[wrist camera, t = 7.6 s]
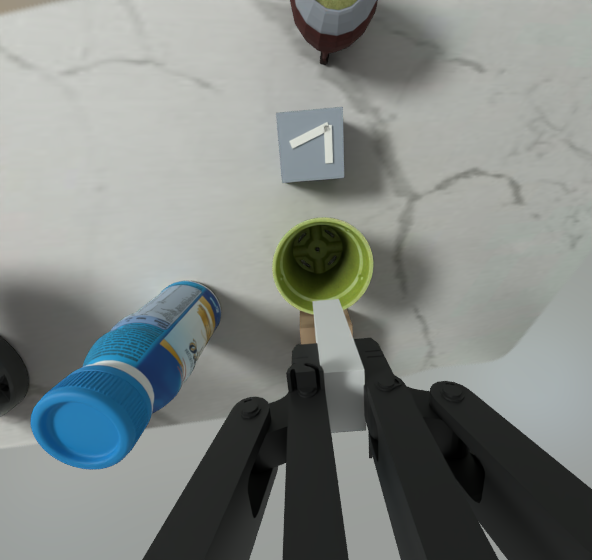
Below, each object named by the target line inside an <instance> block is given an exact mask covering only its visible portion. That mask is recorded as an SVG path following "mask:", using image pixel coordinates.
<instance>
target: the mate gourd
mask: <svg viewBox="0 0 592 560" xmlns="http://www.w3.org/2000/svg"><path fill="white" fill-rule="evenodd" d="M377 1H378V0H290V2H291V7H292V12H293V16H294V21H295V24H296V26H297V27H298V29H299V31H300V32H301V34H302V35H303V37H304V38H305V40H306V41H307V42H308V43H309V44H311V45H312V46H313V47H314V48H316V49H317V50H319V51H321V56H320V63H321V64H324V65H326V64H327V63H328V58H329V53H334V52H337V51H339V50H342V49H345V48H347V47H349V46H350V45H351V44H352V43H354V42H355V41H356V40H357V39H358V38H359V37H360V36H361V35H363V33H364V32H365V30H366V28H367V26H368V24H369V23H370V21H371V19H372V17H373V15H374V13H375V10H376V7H377Z"/></svg>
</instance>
